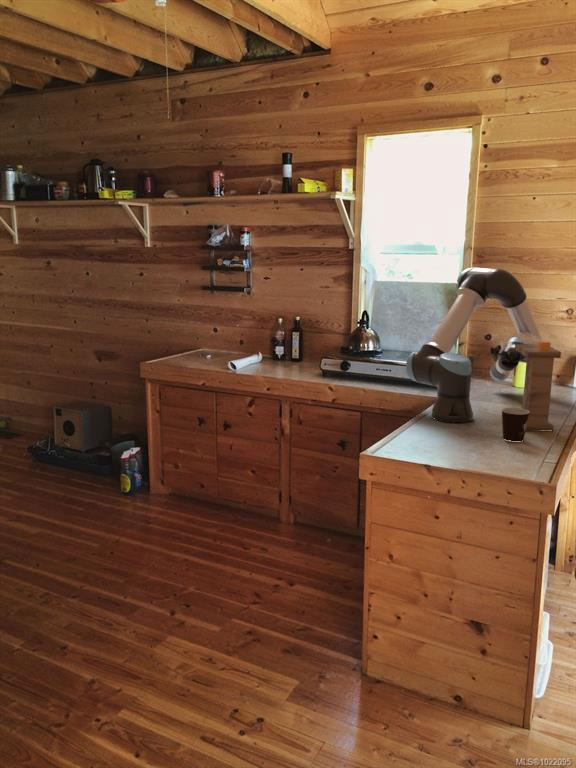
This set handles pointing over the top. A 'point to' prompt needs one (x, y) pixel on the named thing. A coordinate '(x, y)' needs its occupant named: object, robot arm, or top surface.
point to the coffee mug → (514, 423)
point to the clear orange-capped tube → (534, 342)
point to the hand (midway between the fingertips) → (522, 344)
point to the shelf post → (538, 385)
